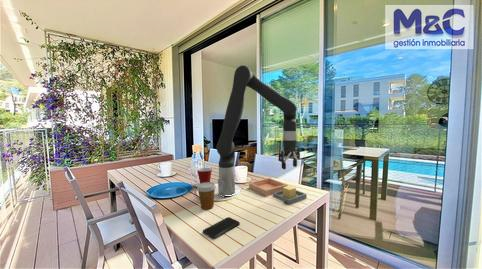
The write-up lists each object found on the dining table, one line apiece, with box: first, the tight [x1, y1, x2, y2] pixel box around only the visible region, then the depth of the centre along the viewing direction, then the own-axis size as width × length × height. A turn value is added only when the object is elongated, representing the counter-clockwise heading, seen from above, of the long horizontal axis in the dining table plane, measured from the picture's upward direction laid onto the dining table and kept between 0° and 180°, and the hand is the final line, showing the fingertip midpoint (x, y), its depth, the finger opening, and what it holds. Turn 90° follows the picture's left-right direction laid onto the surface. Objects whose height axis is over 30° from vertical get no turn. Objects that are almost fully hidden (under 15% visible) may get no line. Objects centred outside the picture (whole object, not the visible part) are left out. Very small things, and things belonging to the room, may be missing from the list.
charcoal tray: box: [272, 189, 308, 205], centre depth 115 cm, size 14×12×2 cm
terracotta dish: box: [248, 177, 289, 197], centre depth 128 cm, size 17×17×4 cm
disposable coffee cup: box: [196, 181, 217, 211], centre depth 105 cm, size 10×10×12 cm
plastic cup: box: [196, 167, 213, 184], centre depth 138 cm, size 11×11×12 cm
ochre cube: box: [283, 185, 297, 199], centre depth 115 cm, size 5×5×5 cm
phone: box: [202, 216, 240, 240], centre depth 86 cm, size 8×1×15 cm
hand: (289, 167), depth 114 cm, fingers open, 8 cm apart
